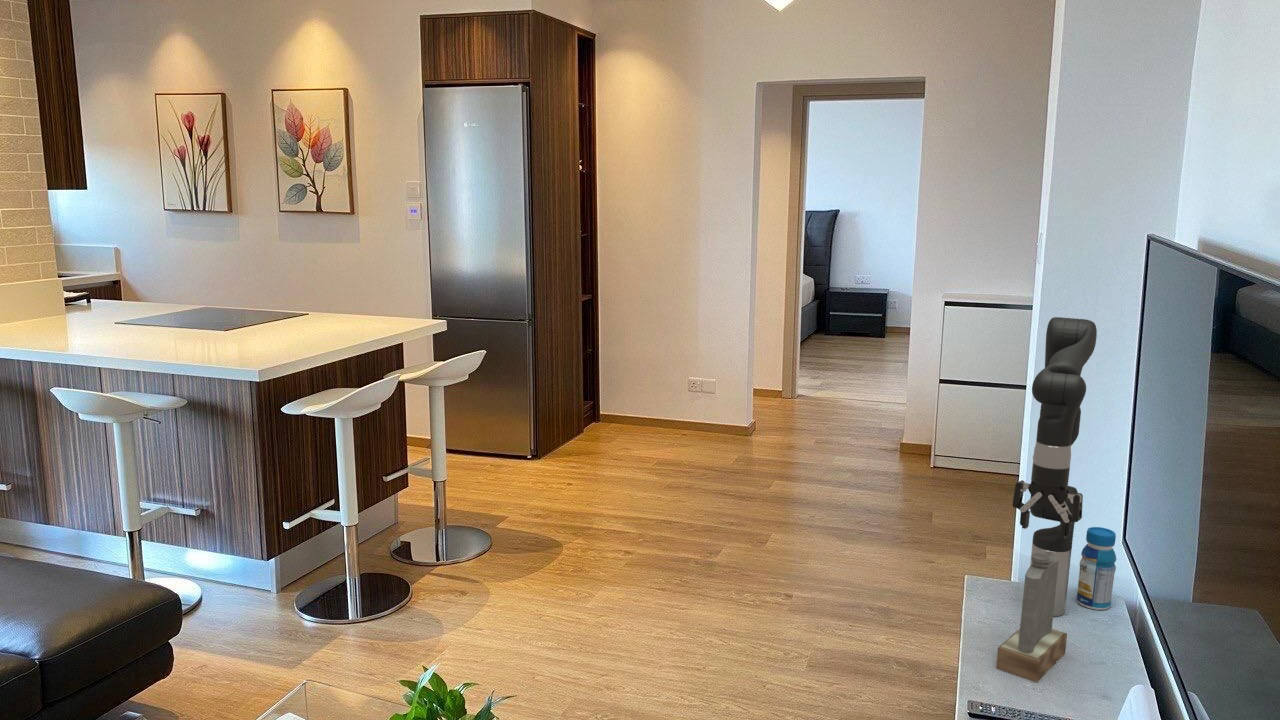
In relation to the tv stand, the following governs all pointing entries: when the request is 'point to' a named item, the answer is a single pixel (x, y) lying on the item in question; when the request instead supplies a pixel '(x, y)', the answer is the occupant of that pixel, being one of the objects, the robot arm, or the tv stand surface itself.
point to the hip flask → (1038, 601)
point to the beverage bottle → (1097, 569)
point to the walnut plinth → (1031, 655)
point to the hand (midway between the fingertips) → (1044, 532)
